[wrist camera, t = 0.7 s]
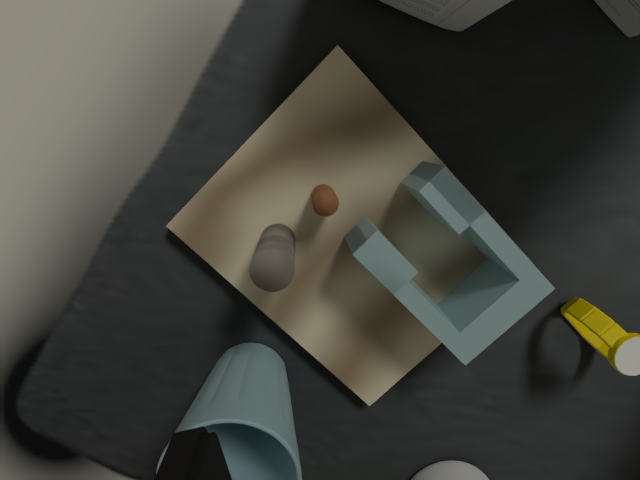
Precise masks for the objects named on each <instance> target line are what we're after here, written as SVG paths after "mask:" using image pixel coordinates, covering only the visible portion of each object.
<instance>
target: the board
mask: <svg viewBox="0 0 640 480" xmlns="http://www.w3.org/2000/svg"><path fill="white" fill-rule="evenodd" d="M422 161H425V162H430V163H434V164H439V165H443V166H446V165H445V164H444V163H443V162H442V161H441V160H440V159H439V158H438V157H437V155H436V154H435V153H434V152H433V151H432V150H431V149H430V148H429V146H428V145H427V144H426V143H425V142H424V141H423V140H422V139H421V138H420V136H419V135H418V134H417V133H416V132H415V131H414V130H413V129H412V127H411V126H410V125H409V124H408V123H407V122H406V121H405V120H404V118H403V117H402V116H401V115H400V114H399V113H398V112H397V111H396V110H395V108H394V107H393V106H392V105H391V104H390V103H389V102H388V101H387V99H386V98H385V97H384V96H383V95H382V94H381V93H380V92H379V91H378V89H377V88H376V87H375V86H374V85H373V84H372V83H371V82H370V80H369V79H368V78H367V77H366V76H365V75H364V74H363V73H362V71H361V70H360V69H359V68H358V67H357V66H356V65H355V64H354V63H353V61H352V60H351V59H350V58H349V57H348V56H347V55H346V54H345V52H344V51H343V50H342V49H341V48H340V47H339V46H338V45H337V46H336V47H335V48H334V49H333V50H332V51H331V53H330V54H329V55H328V56H327V57H326V58H325V59H324V60H323V61H322V62H321V63H320V64H319V65H318V66H317V67H316V68H315V69H314V70H313V72H312V73H311V74H310V75H309V76H308V77H307V78H306V79H305V80H304V81H303V82H302V83H301V84H300V85H299V86H298V87H297V88H296V89H295V91H294V92H293V93H292V94H291V95H290V96H289V97H288V98H287V99H286V100H285V101H284V102H283V103H282V104H281V105H280V106H279V107H278V108H277V109H276V111H275V112H274V113H273V114H272V115H271V116H270V117H269V118H268V119H267V120H266V121H265V122H264V123H263V124H262V125H261V126H260V127H259V128H258V130H257V131H256V132H255V133H254V134H253V135H252V136H251V137H250V138H249V139H248V140H247V141H246V142H245V143H244V144H243V145H242V146H241V147H240V148H239V150H238V151H237V152H236V153H235V154H234V155H233V156H232V157H231V158H230V159H229V160H228V161H227V162H226V163H225V164H224V165H223V166H222V167H221V169H220V170H219V171H218V172H217V173H216V174H215V175H214V176H213V177H212V178H211V179H210V180H209V181H208V182H207V183H206V184H205V185H204V186H203V187H202V189H201V190H200V191H199V192H198V193H197V194H196V195H195V196H194V197H193V198H192V199H191V200H190V201H189V202H188V203H187V204H186V205H185V206H184V208H183V209H182V210H181V211H180V212H179V213H178V214H177V215H176V216H175V217H174V218H173V219H172V220H171V221H170V222H169V223H168V224H167V225H166V227H167V228H169V229H170V230H171V231H172V232H173V233H174V234H175V235H177V236H178V237H179V238H180V239H181V240H182V241H183V242H184V243H186V244H187V245H188V246H189V247H190V248H191V249H192V250H193V251H195V252H196V253H197V254H198V255H199V256H200V257H201V258H203V259H204V260H205V261H206V262H207V263H208V264H209V265H210V266H212V267H213V268H214V269H215V270H216V271H217V272H218V273H219V274H221V275H222V276H223V277H224V278H225V279H226V280H227V281H229V282H230V283H231V284H232V285H233V286H234V287H235V288H236V289H238V290H239V291H240V292H241V293H242V294H243V295H244V296H245V297H247V298H248V299H249V300H250V301H251V302H252V303H253V304H255V305H256V306H257V307H258V308H259V309H260V310H261V311H262V312H264V313H265V314H266V315H267V316H268V317H269V318H270V319H271V320H273V321H274V322H275V323H276V324H277V325H278V326H279V327H281V328H282V329H283V330H284V331H285V332H286V333H287V334H288V335H290V336H291V337H292V338H293V339H294V340H295V341H296V342H297V343H299V344H300V345H301V346H302V347H303V348H304V349H305V350H307V351H308V352H309V353H310V354H311V355H312V356H313V357H314V358H316V359H317V360H318V361H319V362H320V363H321V364H322V365H323V366H325V367H326V368H327V369H328V370H329V371H330V372H331V373H333V374H334V375H335V376H336V377H337V378H338V379H339V380H340V381H342V382H343V383H344V384H345V385H346V386H347V387H348V388H349V389H351V390H352V391H353V392H354V393H355V394H356V395H357V396H359V397H360V398H361V399H362V400H363V401H364V402H365V403H366V404H368V405H369V406H370V405H371V404H373V403H374V402H375V401H376V400H377V399H378V398H379V397H381V396H382V395H383V394H384V393H385V392H386V391H387V390H389V389H390V388H391V387H392V386H393V385H394V384H395V383H397V382H398V381H399V380H400V379H401V378H402V377H403V376H405V375H406V374H407V373H408V372H409V371H410V370H411V369H413V368H414V367H415V366H416V365H417V364H418V363H419V362H421V361H422V360H423V359H424V358H425V357H426V356H427V355H429V354H430V353H431V352H432V351H433V350H434V349H435V348H437V347H438V346H439V345H440V344H441V343H442V342H441V341H440V340H439V339H438V338H437V337H436V336H435V335H434V334H433V333H432V332H431V331H430V330H429V329H428V328H427V327H426V326H425V325H424V324H423V323H421V322H420V321H419V320H418V319H417V318H416V317H415V316H414V315H413V314H412V313H411V312H410V311H409V310H408V309H407V308H406V307H405V306H404V305H403V304H402V303H401V302H400V301H399V300H398V299H397V298H396V297H395V296H394V295H393V294H392V293H391V292H390V291H389V290H388V289H387V288H386V287H385V286H384V285H383V284H382V283H381V282H380V281H379V280H378V279H377V278H376V277H375V276H374V275H373V274H372V273H371V272H370V271H369V270H367V269H366V268H365V267H364V266H363V265H362V264H361V263H360V262H359V261H358V260H357V259H356V258H355V257H354V256H353V255H352V253H351V251H350V248H349V246H348V244H347V241H346V239H345V237H344V236H345V235H346V234H347V233H348V232H349V231H350V230H351V229H352V228H353V227H355V226H356V225H357V224H358V223H359V222H360V221H361V220H362V219H363V218H364V217H365V216H366V217H367V218H368V219H369V220H370V221H371V222H372V223H373V224H374V225H375V226H376V227H377V228H378V229H379V230H380V231H381V232H382V233H383V234H384V235H385V236H386V237H387V238H388V239H389V240H390V241H391V242H392V243H393V244H394V246H395V247H396V248H397V249H398V250H399V251H400V252H401V253H402V254H403V255H404V256H405V257H406V259H407V260H408V261H409V262H410V263H411V264H412V266H413V267H414V268H415V269H416V270H417V271H418V273H417V274H416V275H415V276H414V277H413V278H412V280H413V281H414V282H415V283H416V284H417V285H418V286H419V287H420V288H421V289H422V290H423V291H424V292H425V293H426V294H427V295H428V296H429V297H430V298H431V299H432V300H433V301H434V302H435V303H436V304H438V303H439V302H440V301H441V300H442V299H443V298H444V297H445V296H447V295H448V294H449V293H450V292H451V291H452V290H453V289H454V288H456V287H457V286H458V285H459V284H460V283H461V282H462V281H463V280H464V279H466V278H467V277H468V276H469V275H470V274H471V273H472V272H473V271H475V270H476V269H477V268H478V267H479V266H480V265H481V264H482V263H483V262H485V261H486V260H487V258H486V257H485V256H484V254H483V253H482V252H481V251H480V250H479V249H478V248H477V247H476V246H475V245H474V244H473V243H472V241H471V240H470V239H469V238H468V237H467V236H466V235H465V234H464V233H463V232H462V233H461V234H460V235H459V234H457V233H455V232H454V231H452V230H451V229H449V228H447V227H446V226H444V225H443V224H441V223H439V222H438V221H436V220H435V219H434V218H433V217H432V216H431V215H430V214H429V213H428V212H427V211H426V209H425V208H424V207H423V206H422V205H421V204H420V203H419V202H418V201H417V200H416V199H415V198H414V197H413V196H412V194H411V193H410V192H409V191H408V190H407V189H406V188H405V187H404V186H403V185H402V184H401V183H400V182H401V181H402V180H403V179H404V178H405V177H406V176H407V175H408V174H410V173H411V172H412V171H413V170H414V169H415V168H416V167H417V166H418V165H419V164H420V163H421V162H422ZM449 171H450V170H449ZM450 172H451V171H450ZM451 173H452V172H451ZM452 174H453V173H452ZM453 175H454V174H453ZM458 181H459V180H458ZM459 182H460V181H459ZM460 183H461V182H460ZM461 184H462V183H461ZM466 190H467V189H466ZM467 191H468V190H467ZM468 192H469V191H468ZM469 193H470V192H469ZM470 194H471V193H470ZM475 200H476V199H475ZM476 201H477V200H476ZM477 202H478V201H477ZM478 203H479V202H478ZM483 209H484V208H483ZM484 210H485V209H484ZM485 211H486V210H485ZM486 212H487V211H486ZM487 213H488V212H487ZM491 218H492V217H491ZM492 219H493V218H492ZM493 220H494V219H493ZM494 221H495V220H494ZM495 222H496V221H495ZM500 228H501V227H500ZM501 229H502V228H501ZM502 230H503V229H502ZM503 231H504V230H503ZM504 232H505V231H504ZM508 237H509V236H508ZM509 238H510V237H509ZM510 239H511V238H510ZM511 240H512V239H511ZM512 241H513V240H512ZM517 247H518V246H517ZM518 248H519V247H518ZM519 249H520V248H519ZM520 250H521V249H520ZM525 256H526V255H525ZM526 257H527V256H526ZM527 258H528V257H527ZM528 259H529V258H528ZM529 260H530V259H529Z"/></svg>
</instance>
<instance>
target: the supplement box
mask: <svg viewBox="0 0 640 480" xmlns="http://www.w3.org/2000/svg"><path fill="white" fill-rule="evenodd" d="M594 1H595V2H596V4H597V5H598V6H599V7H600V8H601V9H602V10H603V11H604V12H605V13H606V15H607V16H608V17H609V18H610V19H611V20H612V21H613V22H614V23H615V24H616V25H617V27H618V28H619V29H620V30H621V31H622V32H623V33H624V34H625V35H626V36H627V37H633V36H636V35H639V34H640V0H594Z"/></svg>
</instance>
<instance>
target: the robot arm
mask: <svg viewBox="0 0 640 480" xmlns="http://www.w3.org/2000/svg"><path fill="white" fill-rule="evenodd" d="M154 480H232V478H231V475H230V472H229V469H228V466H227V463H226V460H225V457H224V454H223V451H222V448H221V445H220V442H219V439H218V436H217V434H216V433H215V432H211V433H208V431H207V429H206V428H205V427H203V426H202V427H198V428H193V429H189V430H184V431H180V432H176V433H174V434H173V436H172V438H171V440H170V443H169V445H168V447H167V450H166V452H165V455H164V457H163V459H162V462H161V464H160V466H159V469H158V471H157V474H156V476H155V478H154Z"/></svg>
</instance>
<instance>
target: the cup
mask: <svg viewBox="0 0 640 480" xmlns="http://www.w3.org/2000/svg"><path fill="white" fill-rule="evenodd" d="M202 426H203V427H205V428H206V429H207V431H208V433H211V432H215V433H216V434H217V436H218V439H219V442H220V445H221V448H222V451H223V454H224V457H225V460H226V463H227V466H228V469H229V472H230V475H231V478H232V480H302V473H301V466H300V459H299V452H298V446H297V441H296V435H295V428H294V420H293V413H292V406H291V399H290V392H289V385H288V379H287V373H286V368H285V364H284V362H283V360H282V359H281V357H280V356H279V355H278V354H277V353H276V352H275V351H274V350H273V349H271V348H269V347H267V346H265V345H263V344H259V343H242V344H239V345H236V346H233V347H231V348H230V349H228V350H227V351H226V352H225V353H224V354H223V355H222V356H221V357H220V358H219V360H218V361H217V363H216V365H215V366H214V368H213V369H212V371H211V373H210V374H209V376H208V378H207V379H206V381H205V383H204V384H203V386H202V388H201V390H200V391H199V393H198V395H197V396H196V398H195V400H194V401H193V403H192V405H191V406H190V408H189V410H188V411H187V413H186V415H185V416H184V418H183V420H182V422H181V423H180V425H179V426H178V428H177V430H176V431H175V433H176V432H180V431H184V430H189V429H193V428H198V427H202ZM169 443H170V441H169ZM169 443H168V445H169ZM168 445H167V446H166V448H165V450H164V451H163V453H162V455H161V457H160V460H159V462H158V466H157V470H156V474H157V471H158V469H159V466H160V464H161V462H162V459H163V457H164V455H165V452H166V450H167V447H168Z"/></svg>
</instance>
